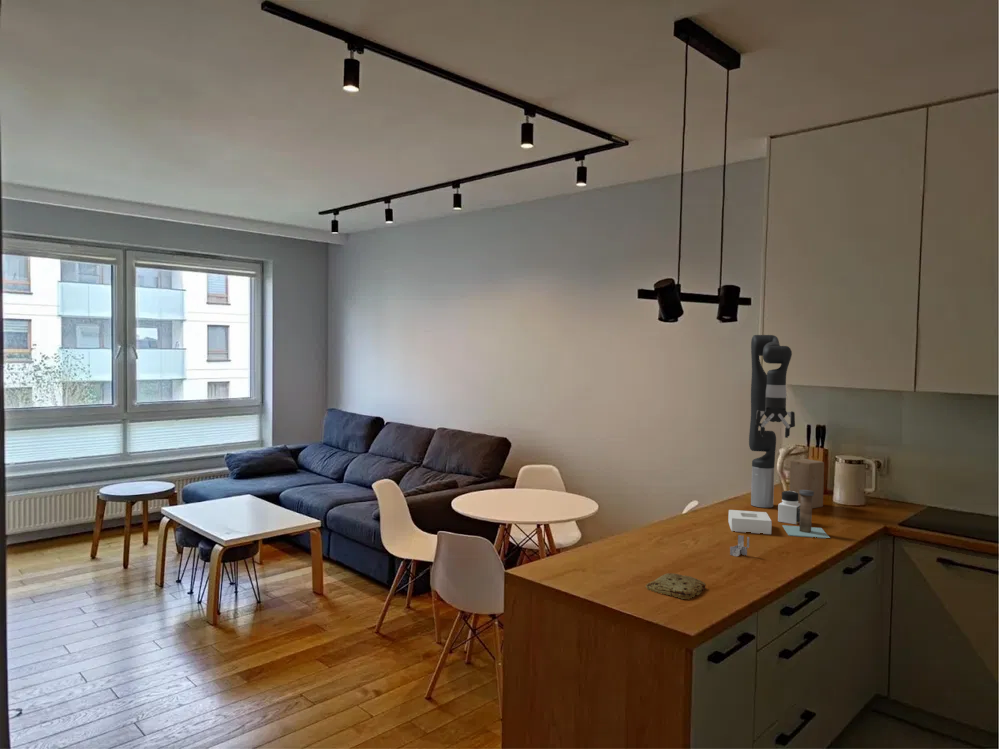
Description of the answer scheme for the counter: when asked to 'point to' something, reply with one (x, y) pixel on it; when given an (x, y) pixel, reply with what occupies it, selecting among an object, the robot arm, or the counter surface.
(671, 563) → the counter surface
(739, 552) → the grey upright blocky piece
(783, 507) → the medicine bottle
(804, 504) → the pin
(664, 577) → the pastry
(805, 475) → the wooden block
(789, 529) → the mat
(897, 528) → the counter surface
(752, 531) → the eye block
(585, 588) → the counter surface
